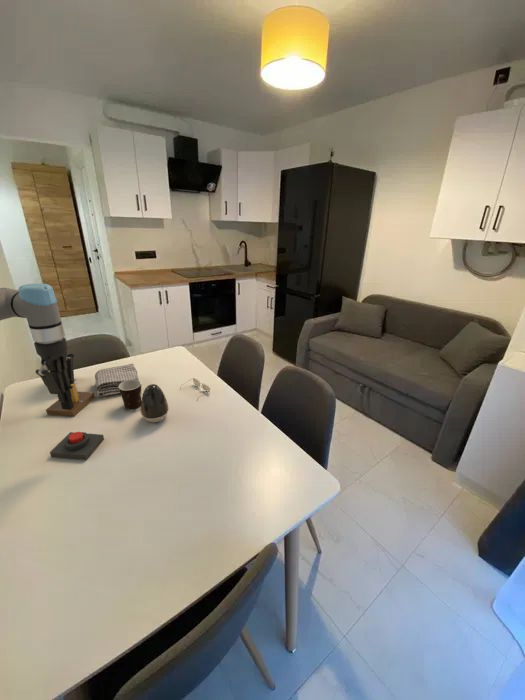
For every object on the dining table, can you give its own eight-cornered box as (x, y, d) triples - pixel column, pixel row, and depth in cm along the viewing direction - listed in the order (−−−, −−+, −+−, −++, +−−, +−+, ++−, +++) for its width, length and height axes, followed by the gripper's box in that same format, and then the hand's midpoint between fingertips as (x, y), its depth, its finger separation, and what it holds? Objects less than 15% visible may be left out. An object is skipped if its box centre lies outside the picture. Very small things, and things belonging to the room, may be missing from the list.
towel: (96, 383, 137) (93, 368, 134) (137, 375, 146) (135, 361, 143) (98, 399, 125) (94, 383, 122) (142, 389, 134) (140, 374, 131)
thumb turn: (79, 399, 120) (74, 382, 117) (75, 402, 118) (71, 385, 115) (66, 398, 120) (61, 381, 117) (62, 401, 119) (58, 384, 115)
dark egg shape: (136, 423, 112) (130, 389, 106) (152, 408, 121) (148, 376, 115) (159, 428, 110) (155, 394, 104) (174, 413, 119) (171, 381, 113)
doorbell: (51, 457, 94) (48, 448, 93) (71, 436, 104) (69, 427, 102) (87, 460, 94) (84, 450, 92) (104, 439, 103) (102, 430, 101)
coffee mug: (130, 398, 127) (127, 378, 123) (148, 401, 126) (145, 381, 122) (112, 413, 117) (108, 392, 113) (131, 417, 115) (128, 395, 111)
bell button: (66, 443, 96) (65, 439, 95) (74, 435, 99) (73, 431, 98) (78, 444, 95) (77, 440, 95) (86, 436, 99) (85, 432, 98)
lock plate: (74, 416, 114) (72, 411, 113) (47, 414, 114) (45, 409, 113) (95, 397, 127) (94, 392, 126) (70, 395, 127) (69, 390, 126)
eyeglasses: (211, 394, 133) (210, 387, 131) (197, 402, 128) (196, 395, 126) (193, 383, 141) (192, 376, 139) (179, 390, 136) (177, 383, 134)
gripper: (53, 330, 89) (70, 396, 98) (18, 347, 77) (41, 419, 86) (77, 332, 89) (91, 397, 98) (45, 349, 77) (65, 421, 86)
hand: (68, 408), depth 92 cm, fingers closed
